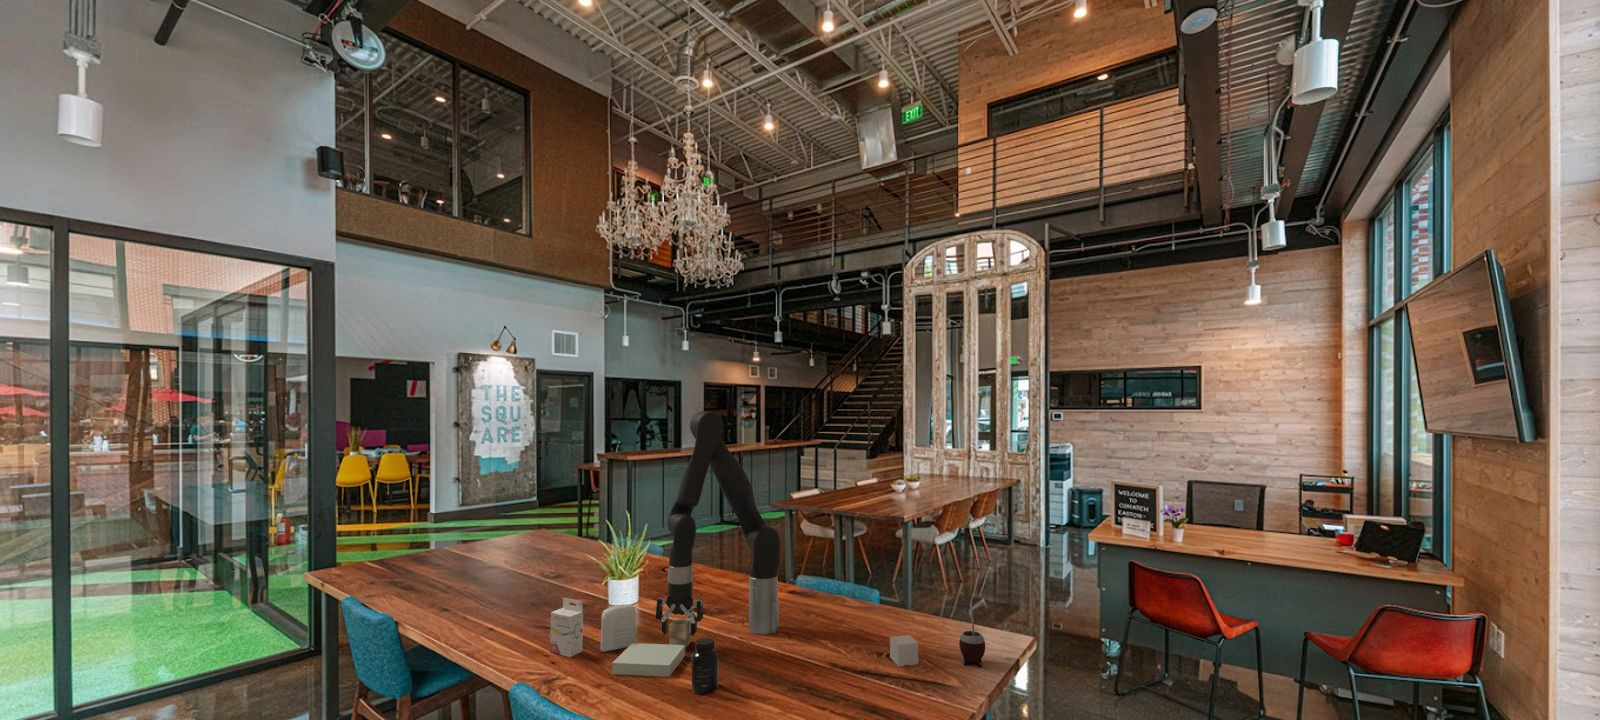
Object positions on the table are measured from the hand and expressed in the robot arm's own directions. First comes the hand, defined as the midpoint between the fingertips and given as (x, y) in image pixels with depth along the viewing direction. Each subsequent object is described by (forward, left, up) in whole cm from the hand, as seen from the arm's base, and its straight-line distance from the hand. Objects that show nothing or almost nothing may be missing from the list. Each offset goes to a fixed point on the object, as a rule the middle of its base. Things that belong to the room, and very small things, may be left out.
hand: (679, 634), depth 188 cm
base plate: (+4, +15, -3) cm, 16 cm away
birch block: (0, 0, -3) cm, 3 cm away
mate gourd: (-86, +4, -3) cm, 87 cm away
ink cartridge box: (+32, +9, -3) cm, 33 cm away
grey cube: (-67, +5, -4) cm, 68 cm away
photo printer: (+18, +4, -3) cm, 18 cm away
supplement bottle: (-16, +28, -3) cm, 32 cm away
